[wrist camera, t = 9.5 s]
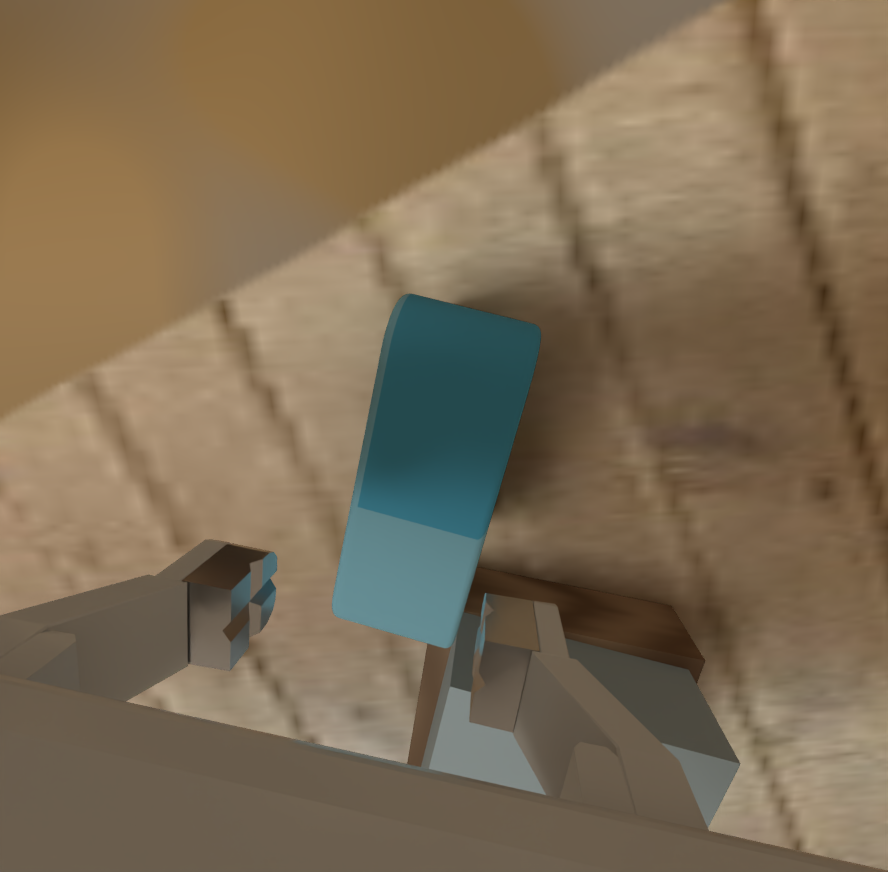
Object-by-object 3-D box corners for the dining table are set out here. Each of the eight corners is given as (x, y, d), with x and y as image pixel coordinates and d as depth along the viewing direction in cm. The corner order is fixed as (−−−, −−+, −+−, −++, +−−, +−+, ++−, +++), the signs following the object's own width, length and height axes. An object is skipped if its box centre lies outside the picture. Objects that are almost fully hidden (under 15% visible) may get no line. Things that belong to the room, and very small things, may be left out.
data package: (468, 522, 27) (446, 671, 15) (397, 502, 27) (323, 635, 16) (523, 325, 24) (548, 326, 12) (442, 304, 24) (391, 287, 12)
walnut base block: (668, 600, 27) (704, 660, 22) (611, 772, 31) (632, 855, 26) (445, 556, 28) (434, 604, 23) (415, 727, 32) (401, 799, 27)
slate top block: (688, 669, 23) (740, 763, 18) (611, 846, 26) (637, 965, 21) (459, 611, 23) (450, 686, 18) (415, 790, 27) (396, 893, 22)
